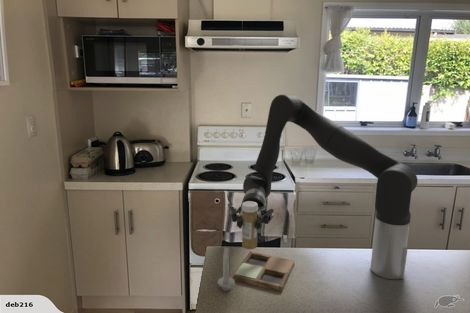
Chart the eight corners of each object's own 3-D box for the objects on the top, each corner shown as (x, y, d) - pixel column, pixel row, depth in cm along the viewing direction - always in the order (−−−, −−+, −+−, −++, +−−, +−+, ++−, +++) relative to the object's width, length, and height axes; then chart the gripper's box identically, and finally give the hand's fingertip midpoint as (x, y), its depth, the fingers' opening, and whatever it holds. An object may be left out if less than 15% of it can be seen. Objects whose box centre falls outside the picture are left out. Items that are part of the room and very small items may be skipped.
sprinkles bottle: (260, 247, 99) (261, 204, 96) (247, 251, 97) (247, 207, 94) (250, 240, 103) (251, 199, 100) (238, 245, 101) (238, 202, 97)
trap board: (294, 264, 108) (294, 259, 108) (282, 291, 95) (282, 286, 94) (250, 255, 114) (250, 250, 113) (232, 279, 100) (232, 274, 100)
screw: (215, 285, 97) (230, 281, 99) (221, 295, 93) (237, 290, 95) (214, 244, 94) (230, 240, 96) (221, 252, 90) (237, 248, 92)
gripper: (232, 191, 112) (223, 212, 95) (275, 193, 110) (274, 214, 94) (232, 212, 114) (223, 236, 97) (275, 214, 112) (273, 239, 95)
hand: (248, 225), depth 96 cm, fingers closed on sprinkles bottle, 4 cm apart
